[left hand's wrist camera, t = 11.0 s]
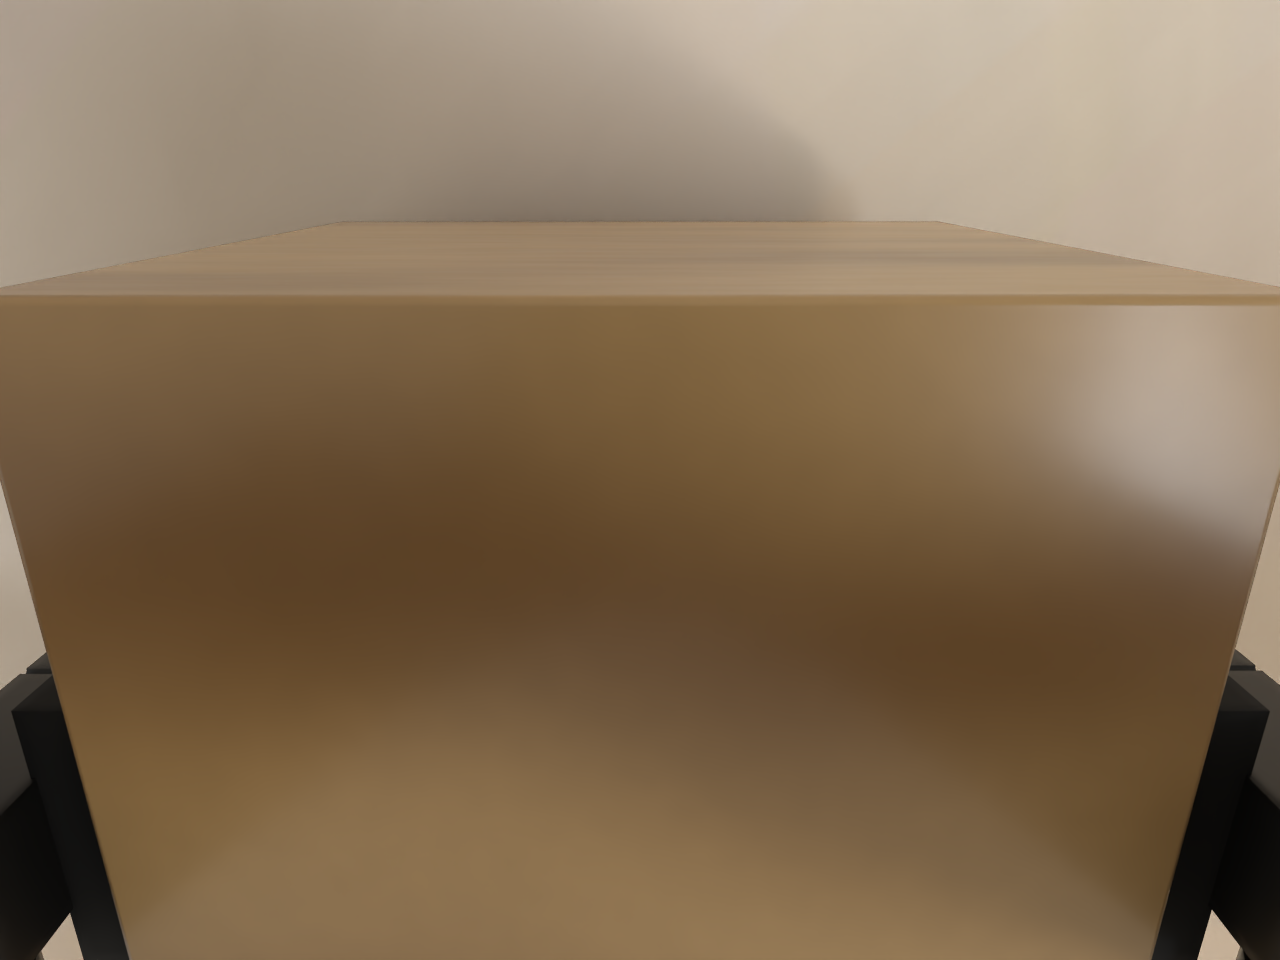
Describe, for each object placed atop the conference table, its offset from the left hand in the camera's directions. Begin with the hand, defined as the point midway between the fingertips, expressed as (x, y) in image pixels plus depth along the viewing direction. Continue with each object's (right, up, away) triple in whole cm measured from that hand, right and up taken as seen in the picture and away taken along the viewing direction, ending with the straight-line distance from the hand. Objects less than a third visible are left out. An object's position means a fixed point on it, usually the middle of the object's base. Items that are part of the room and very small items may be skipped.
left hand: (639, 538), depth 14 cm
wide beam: (0, -31, +12) cm, 33 cm away
